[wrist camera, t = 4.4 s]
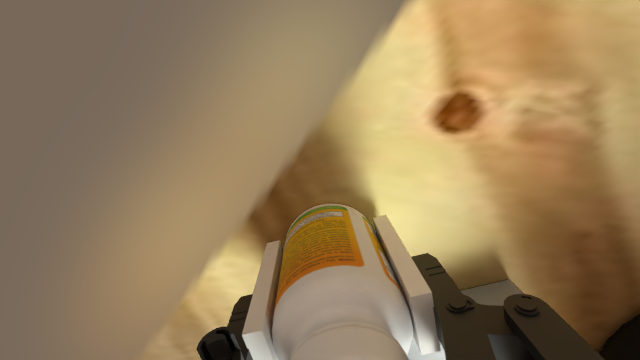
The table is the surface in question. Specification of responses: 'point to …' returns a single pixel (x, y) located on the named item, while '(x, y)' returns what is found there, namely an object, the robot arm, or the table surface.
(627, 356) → the coffee jar
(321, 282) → the supplement bottle
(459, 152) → the table surface
